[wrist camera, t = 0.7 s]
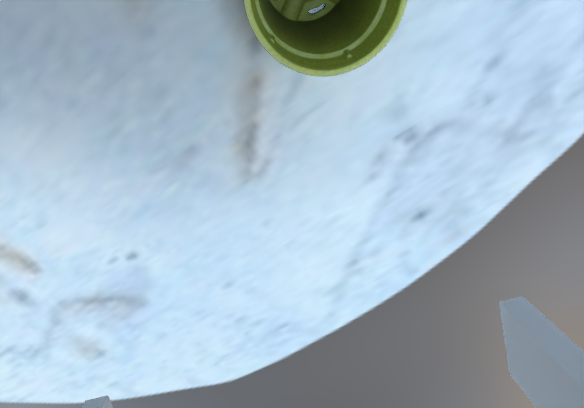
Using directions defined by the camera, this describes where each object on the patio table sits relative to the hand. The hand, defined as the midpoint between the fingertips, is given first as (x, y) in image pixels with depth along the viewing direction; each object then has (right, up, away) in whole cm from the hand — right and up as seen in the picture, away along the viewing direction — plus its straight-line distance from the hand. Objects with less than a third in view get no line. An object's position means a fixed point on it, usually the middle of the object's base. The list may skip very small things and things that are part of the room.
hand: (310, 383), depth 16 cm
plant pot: (0, +22, +19) cm, 29 cm away
